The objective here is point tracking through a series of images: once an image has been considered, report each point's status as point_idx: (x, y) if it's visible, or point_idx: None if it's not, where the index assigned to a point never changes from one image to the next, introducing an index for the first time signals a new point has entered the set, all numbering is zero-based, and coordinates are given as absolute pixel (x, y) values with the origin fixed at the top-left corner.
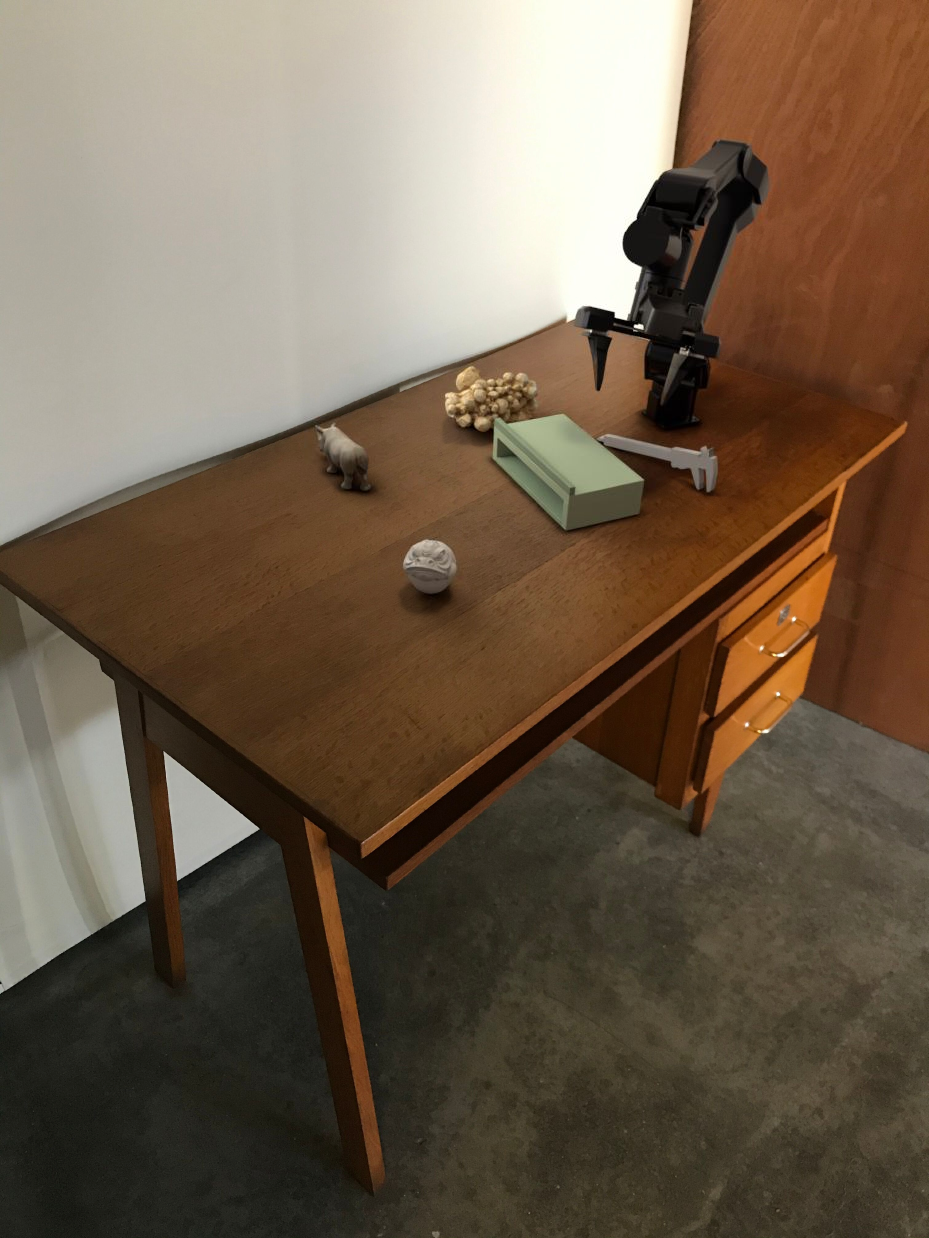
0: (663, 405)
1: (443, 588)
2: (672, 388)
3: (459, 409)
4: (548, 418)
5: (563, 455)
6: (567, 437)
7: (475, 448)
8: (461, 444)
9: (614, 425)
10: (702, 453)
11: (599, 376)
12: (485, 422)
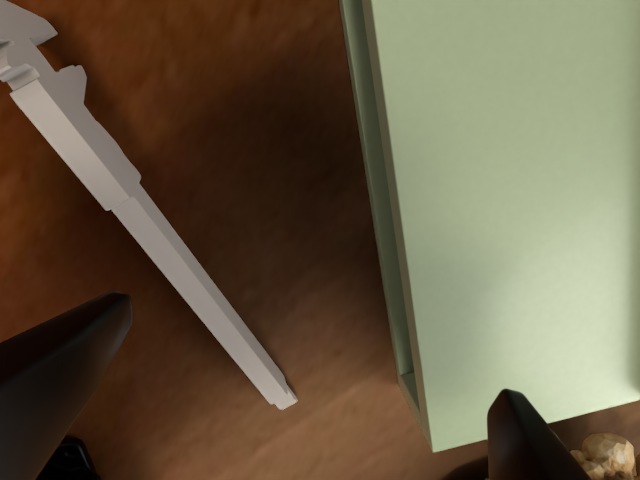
0: (123, 294)
1: None
2: (26, 348)
3: None
4: None
5: (561, 173)
6: (490, 298)
7: None
8: (616, 413)
9: (216, 472)
10: (13, 56)
11: (569, 463)
12: (617, 450)
